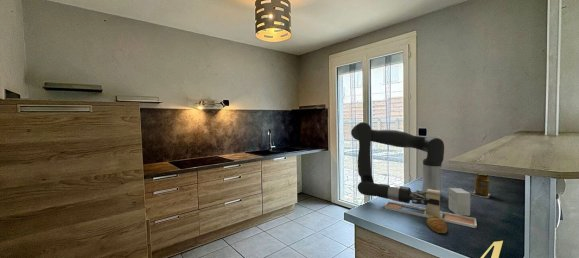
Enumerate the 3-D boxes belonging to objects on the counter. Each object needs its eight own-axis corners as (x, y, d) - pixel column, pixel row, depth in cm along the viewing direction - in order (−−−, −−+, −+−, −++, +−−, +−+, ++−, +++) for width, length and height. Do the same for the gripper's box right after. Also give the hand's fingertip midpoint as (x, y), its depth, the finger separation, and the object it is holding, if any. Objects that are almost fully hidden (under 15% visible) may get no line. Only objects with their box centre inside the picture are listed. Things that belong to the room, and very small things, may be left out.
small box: (470, 216, 104) (471, 193, 103) (456, 215, 105) (457, 192, 104) (460, 209, 112) (461, 188, 111) (448, 208, 113) (448, 187, 112)
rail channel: (388, 202, 121) (388, 200, 121) (475, 220, 99) (475, 218, 99) (383, 208, 114) (383, 206, 114) (476, 228, 92) (476, 226, 92)
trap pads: (388, 203, 120) (388, 203, 120) (474, 220, 99) (474, 220, 99) (385, 207, 114) (385, 207, 114) (474, 227, 93) (474, 226, 93)
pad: (425, 210, 110) (425, 210, 110) (442, 214, 106) (442, 214, 106) (423, 215, 105) (423, 215, 105) (441, 219, 100) (441, 219, 100)
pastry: (452, 236, 87) (452, 226, 87) (432, 233, 89) (432, 224, 89) (442, 224, 96) (443, 215, 96) (424, 223, 98) (424, 214, 98)
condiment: (490, 194, 132) (490, 174, 132) (488, 198, 126) (489, 176, 126) (474, 191, 137) (474, 172, 137) (471, 195, 131) (472, 174, 131)
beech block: (427, 211, 109) (427, 188, 108) (439, 214, 106) (440, 190, 105) (425, 215, 105) (426, 191, 104) (438, 218, 102) (439, 193, 101)
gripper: (395, 190, 108) (438, 197, 97) (402, 182, 119) (441, 188, 109) (395, 205, 108) (438, 214, 98) (402, 197, 119) (440, 204, 109)
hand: (439, 200), depth 103 cm, fingers open, 5 cm apart
